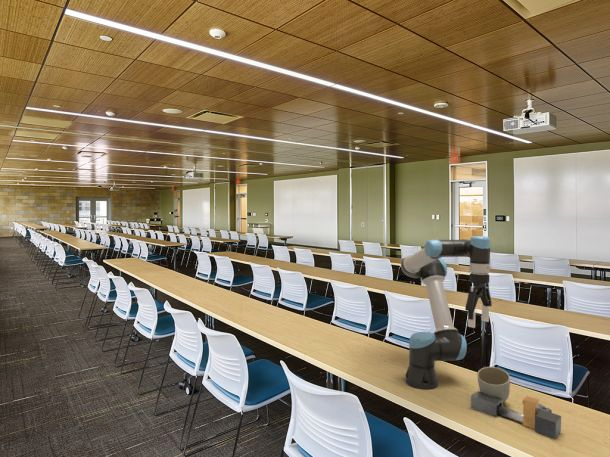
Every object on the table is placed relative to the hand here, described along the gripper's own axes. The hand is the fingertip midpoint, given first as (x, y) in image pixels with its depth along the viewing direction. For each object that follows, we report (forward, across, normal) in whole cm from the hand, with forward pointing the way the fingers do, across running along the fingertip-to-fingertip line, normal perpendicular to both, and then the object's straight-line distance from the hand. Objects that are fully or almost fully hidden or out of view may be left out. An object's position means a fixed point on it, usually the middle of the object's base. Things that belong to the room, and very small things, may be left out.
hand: (478, 324), depth 160 cm
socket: (+35, 0, -26) cm, 43 cm away
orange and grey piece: (+35, 0, -18) cm, 39 cm away
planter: (+33, +10, -3) cm, 35 cm away
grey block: (+35, 0, -4) cm, 35 cm away
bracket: (+35, +17, -18) cm, 43 cm away
